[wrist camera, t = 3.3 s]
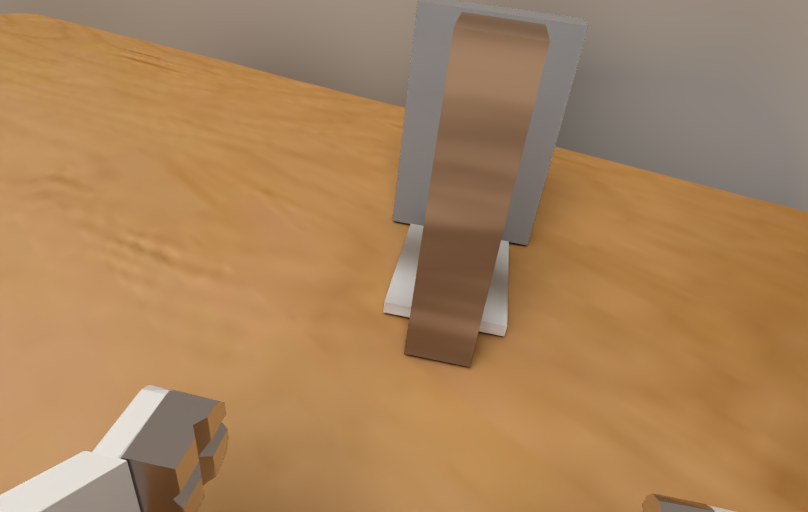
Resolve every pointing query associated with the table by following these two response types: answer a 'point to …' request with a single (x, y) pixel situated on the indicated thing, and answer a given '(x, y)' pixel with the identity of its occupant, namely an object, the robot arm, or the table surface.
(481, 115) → the brown and white bookend
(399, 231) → the table surface
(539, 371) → the table surface
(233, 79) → the table surface
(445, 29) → the tile
